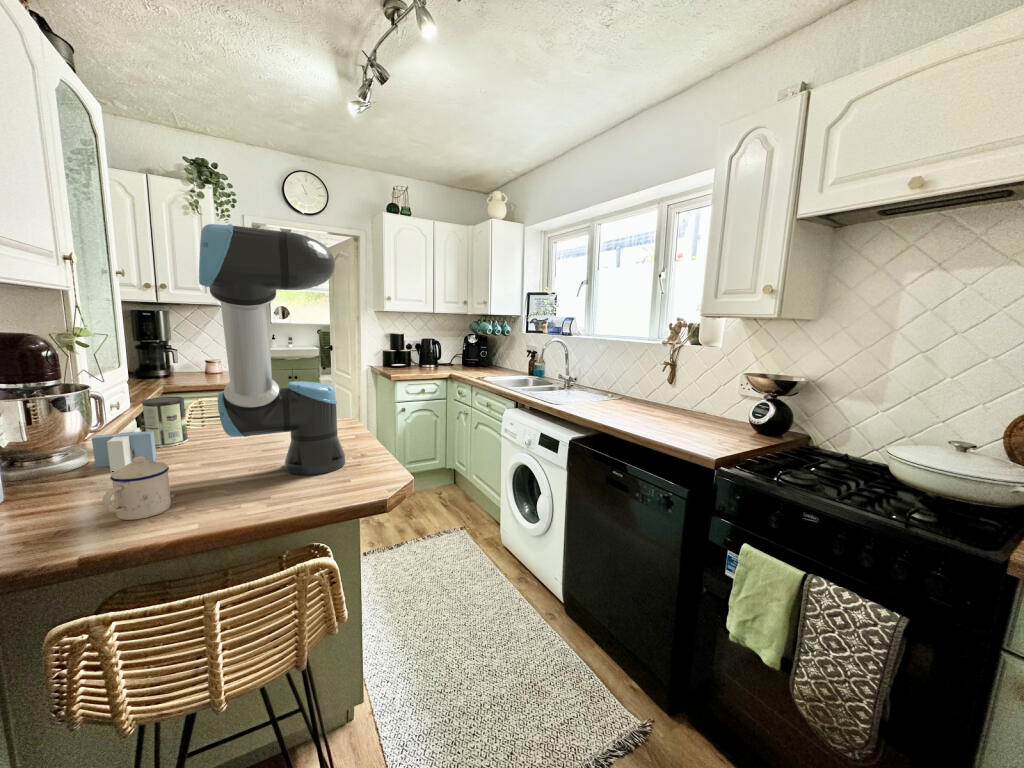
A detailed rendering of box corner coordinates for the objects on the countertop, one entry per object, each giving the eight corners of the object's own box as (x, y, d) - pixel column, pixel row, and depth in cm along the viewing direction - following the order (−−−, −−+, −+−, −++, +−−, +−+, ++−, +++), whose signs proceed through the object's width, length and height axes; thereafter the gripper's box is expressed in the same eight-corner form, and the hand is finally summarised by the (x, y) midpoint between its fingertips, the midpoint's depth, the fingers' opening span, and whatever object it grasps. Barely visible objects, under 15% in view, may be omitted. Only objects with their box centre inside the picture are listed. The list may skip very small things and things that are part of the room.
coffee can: (167, 437, 139) (163, 395, 137) (196, 439, 138) (192, 397, 136) (137, 446, 129) (132, 401, 127) (168, 448, 128) (163, 403, 126)
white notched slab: (125, 470, 110) (122, 440, 109) (110, 471, 109) (106, 441, 107) (142, 454, 122) (139, 427, 121) (129, 455, 121) (126, 428, 120)
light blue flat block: (153, 461, 117) (150, 433, 116) (95, 467, 111) (91, 438, 110) (156, 458, 119) (153, 430, 118) (100, 463, 114) (96, 435, 113)
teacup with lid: (145, 500, 93) (140, 449, 91) (183, 503, 92) (178, 451, 90) (86, 526, 81) (78, 468, 79) (129, 530, 80) (122, 471, 78)
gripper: (239, 291, 134) (243, 358, 137) (228, 287, 112) (234, 366, 115) (266, 293, 137) (270, 357, 141) (261, 289, 116) (265, 366, 119)
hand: (254, 362), depth 128 cm, fingers open, 13 cm apart
